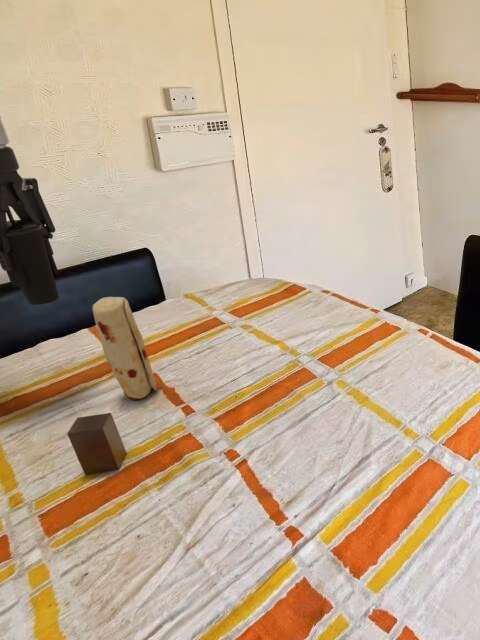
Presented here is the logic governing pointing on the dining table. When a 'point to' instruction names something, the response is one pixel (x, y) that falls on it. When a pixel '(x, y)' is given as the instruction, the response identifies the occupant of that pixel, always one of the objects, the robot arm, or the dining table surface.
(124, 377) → the food model
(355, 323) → the dining table surface
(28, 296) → the drinking cup
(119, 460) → the block
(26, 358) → the dining table surface
